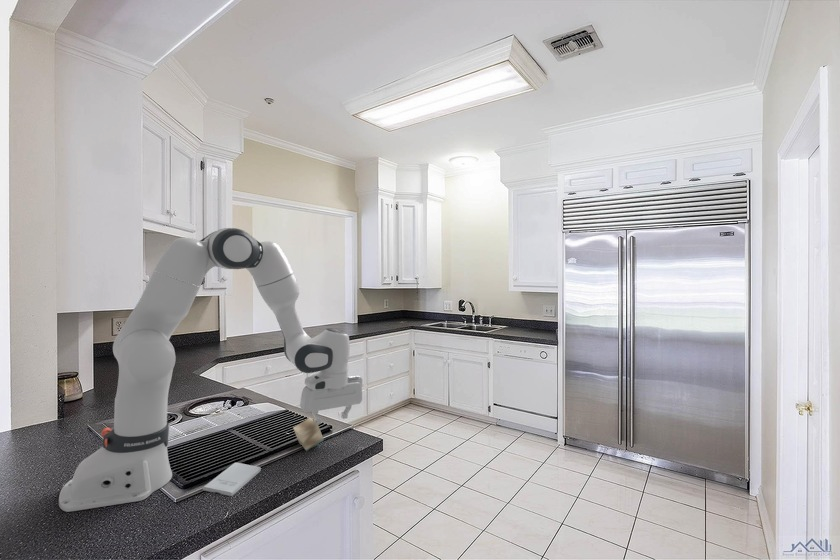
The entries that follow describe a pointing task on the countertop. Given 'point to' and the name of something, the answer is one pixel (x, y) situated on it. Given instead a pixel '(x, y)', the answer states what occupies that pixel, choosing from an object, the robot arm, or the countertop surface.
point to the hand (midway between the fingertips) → (331, 420)
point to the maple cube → (308, 434)
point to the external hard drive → (232, 479)
